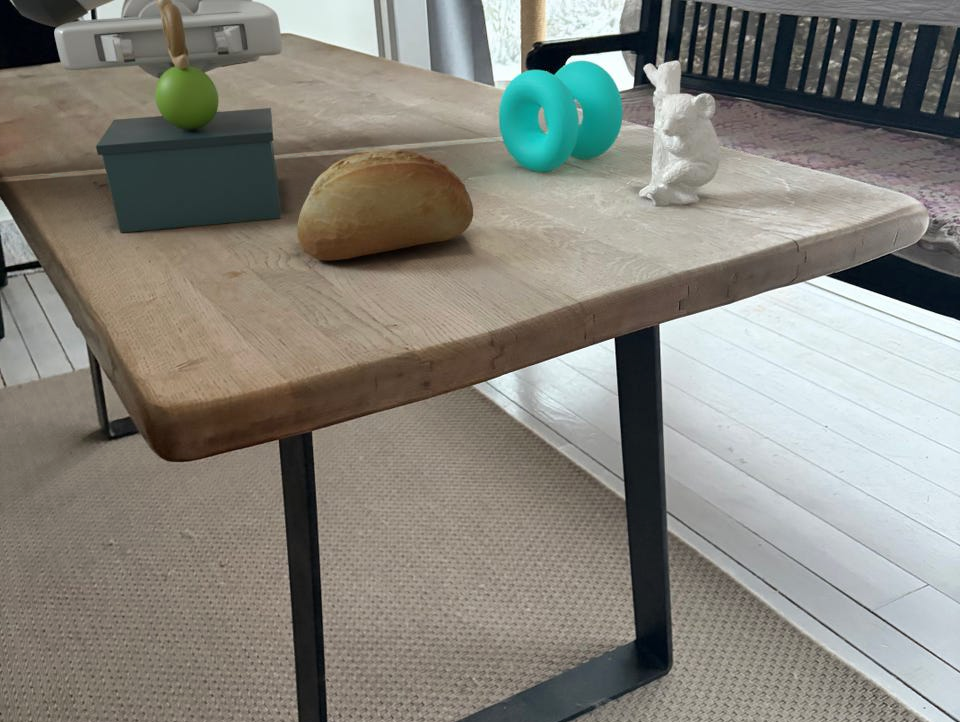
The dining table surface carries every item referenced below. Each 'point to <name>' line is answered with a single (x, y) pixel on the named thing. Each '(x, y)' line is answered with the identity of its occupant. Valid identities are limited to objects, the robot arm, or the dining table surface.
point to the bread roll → (382, 205)
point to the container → (191, 171)
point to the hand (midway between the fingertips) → (175, 48)
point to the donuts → (560, 115)
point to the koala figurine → (680, 139)
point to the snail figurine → (183, 79)
